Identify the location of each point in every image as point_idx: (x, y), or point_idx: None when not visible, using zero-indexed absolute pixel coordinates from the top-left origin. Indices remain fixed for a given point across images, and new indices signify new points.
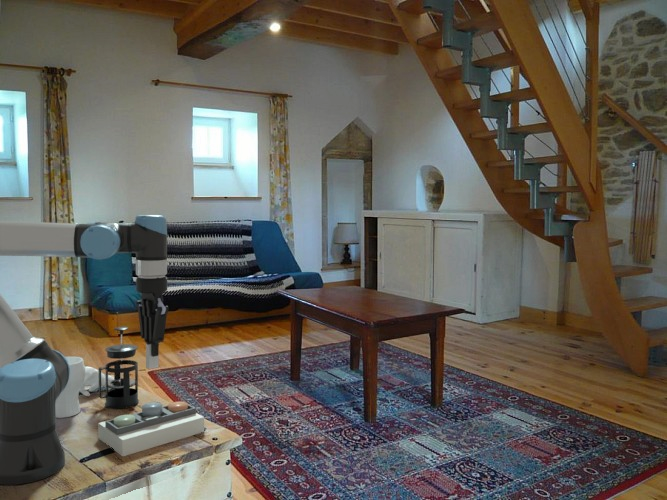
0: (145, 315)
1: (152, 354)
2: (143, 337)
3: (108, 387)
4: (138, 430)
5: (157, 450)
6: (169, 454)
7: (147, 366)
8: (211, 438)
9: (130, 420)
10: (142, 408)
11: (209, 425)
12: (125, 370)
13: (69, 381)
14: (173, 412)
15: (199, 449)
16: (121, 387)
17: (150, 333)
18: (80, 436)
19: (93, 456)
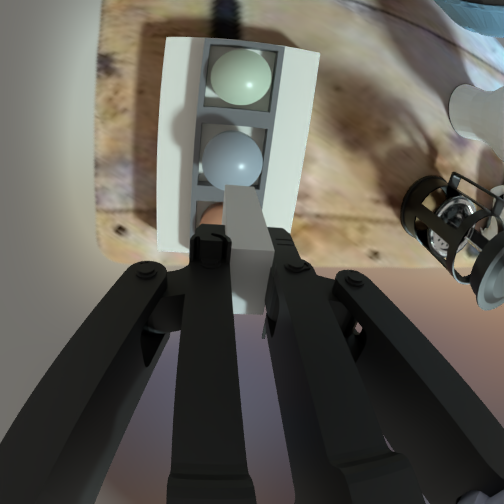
0: (338, 474)
1: (208, 229)
2: (335, 278)
3: (484, 231)
4: (191, 91)
5: (146, 112)
6: (111, 122)
7: (240, 189)
8: (125, 225)
9: (213, 80)
10: (240, 134)
11: (186, 259)
12: (455, 237)
13: (500, 108)
14: (211, 207)
15: (94, 180)
16: (437, 210)
17: (202, 311)
18: (349, 42)
19: (224, 3)
